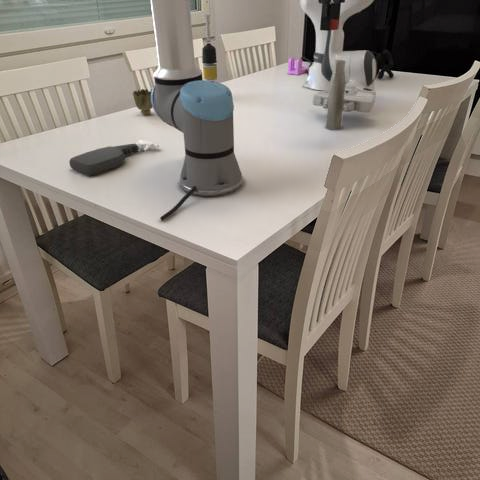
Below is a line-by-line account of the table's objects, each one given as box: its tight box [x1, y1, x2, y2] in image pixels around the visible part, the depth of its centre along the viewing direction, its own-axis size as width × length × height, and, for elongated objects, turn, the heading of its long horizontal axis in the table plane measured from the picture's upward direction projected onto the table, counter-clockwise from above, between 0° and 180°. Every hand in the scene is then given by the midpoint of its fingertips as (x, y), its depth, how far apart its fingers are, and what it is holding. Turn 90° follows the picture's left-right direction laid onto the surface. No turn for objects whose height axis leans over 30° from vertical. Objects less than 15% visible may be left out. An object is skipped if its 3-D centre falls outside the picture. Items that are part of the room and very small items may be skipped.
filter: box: [201, 14, 218, 82], centre depth 171 cm, size 6×6×30 cm
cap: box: [330, 19, 338, 30], centre depth 124 cm, size 4×4×2 cm
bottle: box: [325, 60, 347, 131], centre depth 140 cm, size 5×5×20 cm
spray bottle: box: [68, 139, 160, 177], centre depth 124 cm, size 3×11×24 cm
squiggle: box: [370, 49, 394, 80], centre depth 203 cm, size 11×10×15 cm
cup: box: [132, 88, 153, 116], centre depth 160 cm, size 8×7×8 cm
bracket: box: [287, 57, 309, 76], centre depth 217 cm, size 13×6×7 cm, turn 143°
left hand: (329, 29), depth 125 cm, fingers closed on cap, 4 cm apart
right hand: (334, 107), depth 141 cm, fingers closed on bottle, 5 cm apart
